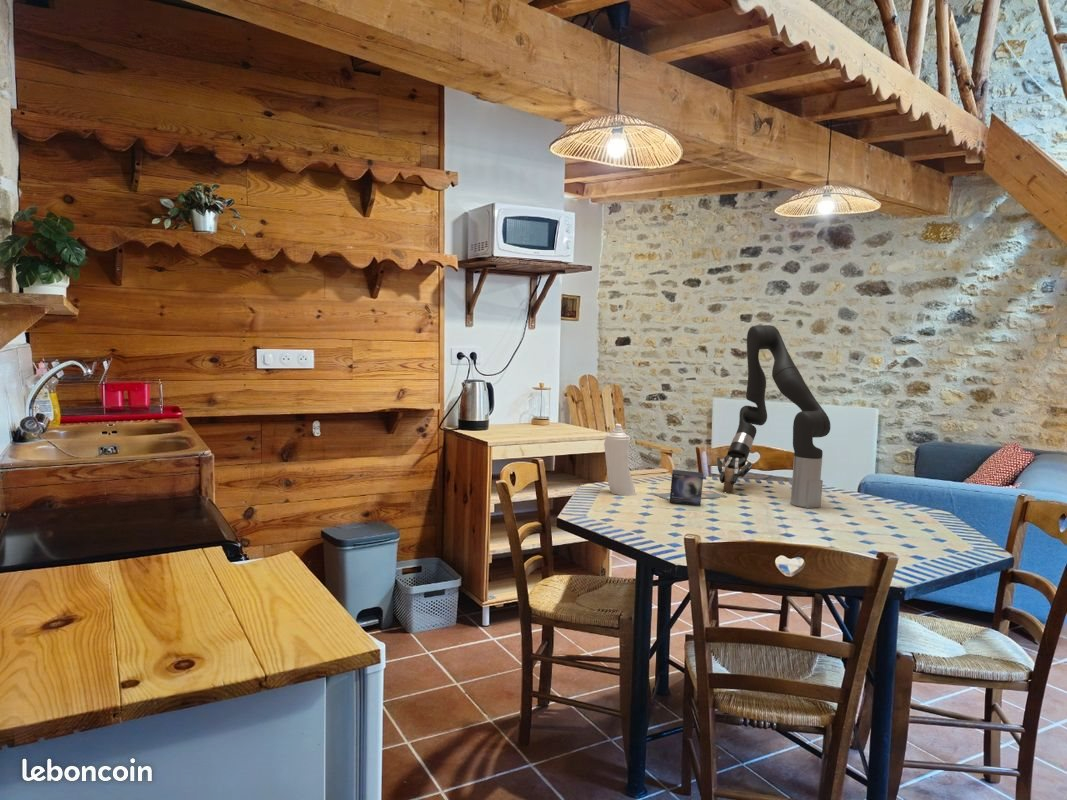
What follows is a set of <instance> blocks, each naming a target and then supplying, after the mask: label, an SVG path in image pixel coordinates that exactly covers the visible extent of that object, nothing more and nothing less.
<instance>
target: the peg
mask: <svg viewBox="0 0 1067 800" xmlns="http://www.w3.org/2000/svg"><path fill="white" fill-rule="evenodd" d="M734 472H735V469H733V468H725V474H724V483H723V493H724V492H726V494H733V493H734V485H731V482H730V481H731V478H732V476H733V474H734Z"/></svg>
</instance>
